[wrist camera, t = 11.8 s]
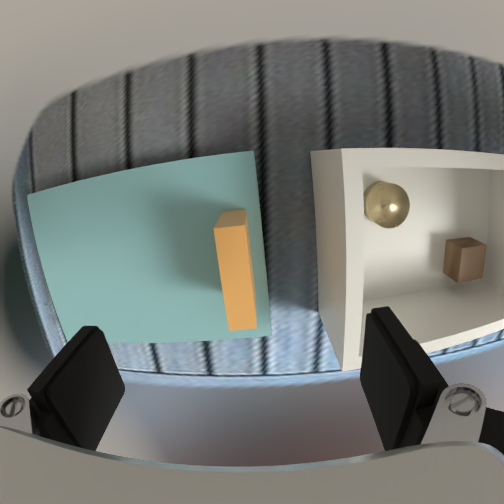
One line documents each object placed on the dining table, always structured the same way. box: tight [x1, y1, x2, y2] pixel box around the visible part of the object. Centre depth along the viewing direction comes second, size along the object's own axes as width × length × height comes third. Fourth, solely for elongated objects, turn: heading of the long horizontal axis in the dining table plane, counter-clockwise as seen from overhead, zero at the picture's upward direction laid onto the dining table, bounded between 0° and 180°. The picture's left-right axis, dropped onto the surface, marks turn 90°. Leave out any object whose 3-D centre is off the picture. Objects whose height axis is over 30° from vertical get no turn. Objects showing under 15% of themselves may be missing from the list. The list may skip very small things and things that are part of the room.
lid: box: [27, 151, 272, 343], centre depth 20 cm, size 19×14×8 cm
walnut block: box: [443, 237, 487, 283], centre depth 21 cm, size 3×3×2 cm
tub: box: [310, 148, 504, 372], centre depth 19 cm, size 18×13×8 cm
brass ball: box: [363, 181, 410, 229], centre depth 21 cm, size 3×3×2 cm
